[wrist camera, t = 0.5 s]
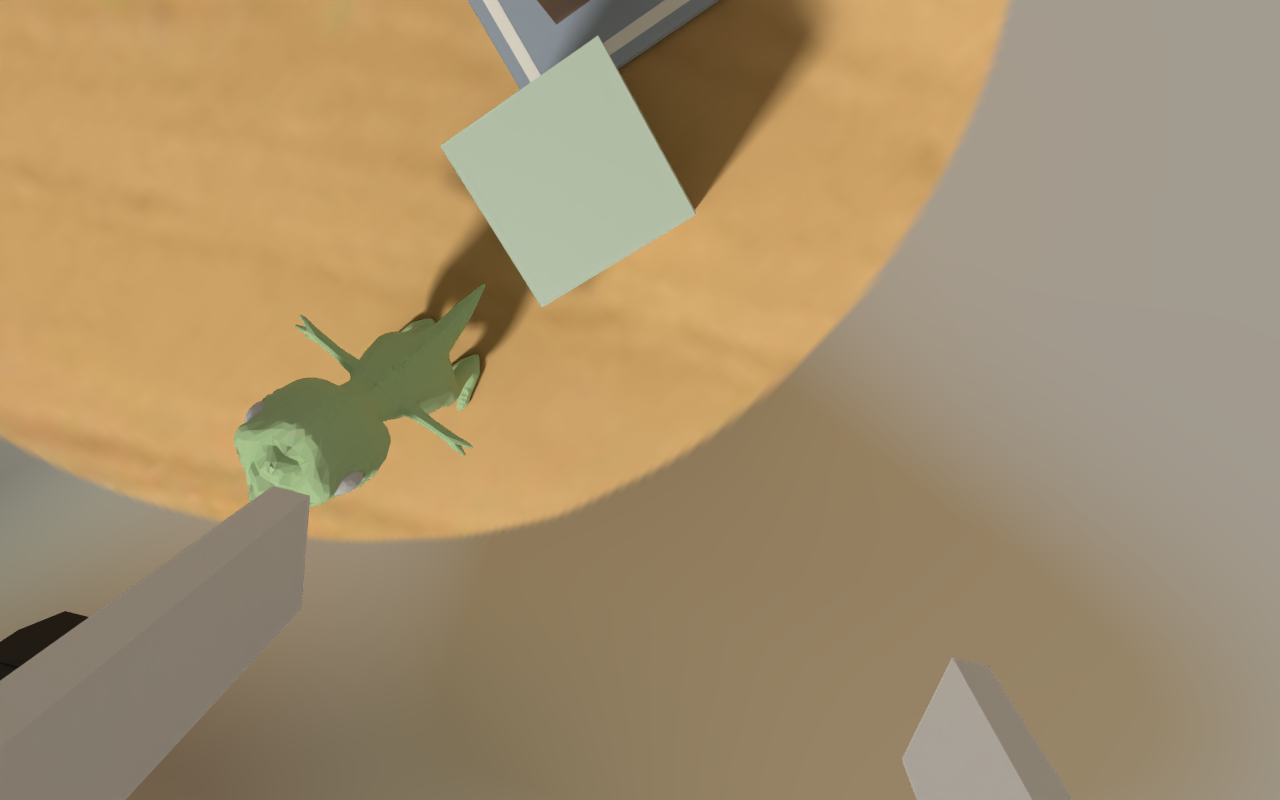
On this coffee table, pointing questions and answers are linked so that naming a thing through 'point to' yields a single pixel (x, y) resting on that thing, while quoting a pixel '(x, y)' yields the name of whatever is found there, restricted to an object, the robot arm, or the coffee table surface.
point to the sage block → (569, 174)
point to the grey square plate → (579, 30)
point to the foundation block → (561, 8)
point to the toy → (356, 409)
